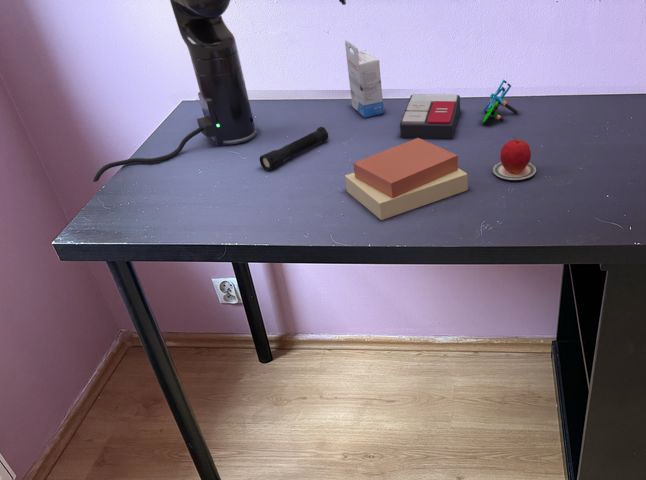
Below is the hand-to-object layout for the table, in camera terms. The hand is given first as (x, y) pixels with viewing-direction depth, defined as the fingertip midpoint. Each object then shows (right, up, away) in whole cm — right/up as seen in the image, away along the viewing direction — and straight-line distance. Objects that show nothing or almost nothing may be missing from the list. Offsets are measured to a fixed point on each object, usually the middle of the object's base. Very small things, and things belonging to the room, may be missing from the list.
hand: (362, 1), depth 143 cm
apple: (+31, -43, -19) cm, 56 cm away
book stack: (+11, -47, -23) cm, 53 cm away
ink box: (0, -21, +7) cm, 23 cm away
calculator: (+15, -27, -1) cm, 31 cm away
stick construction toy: (+30, -25, +1) cm, 39 cm away
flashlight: (-12, -37, -10) cm, 40 cm away
